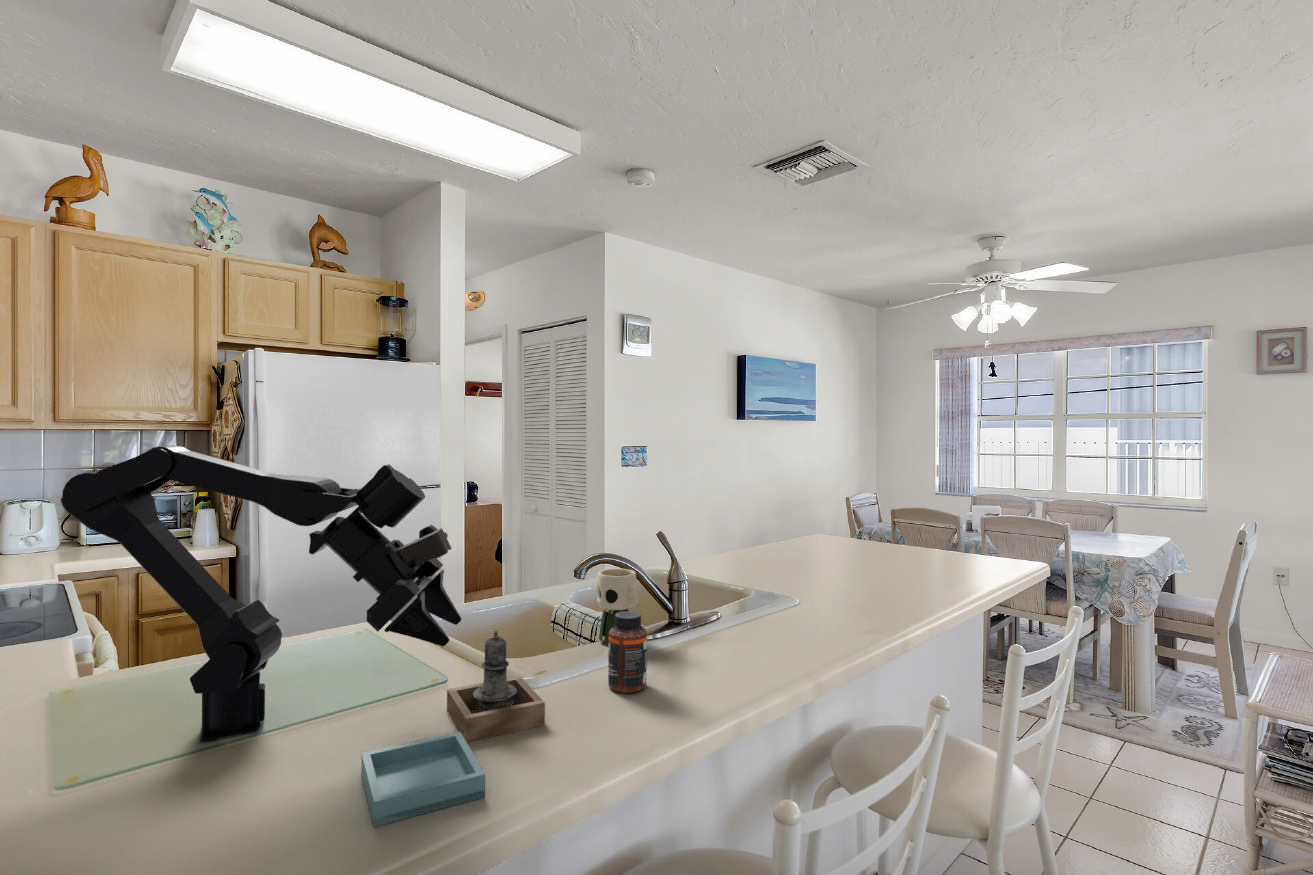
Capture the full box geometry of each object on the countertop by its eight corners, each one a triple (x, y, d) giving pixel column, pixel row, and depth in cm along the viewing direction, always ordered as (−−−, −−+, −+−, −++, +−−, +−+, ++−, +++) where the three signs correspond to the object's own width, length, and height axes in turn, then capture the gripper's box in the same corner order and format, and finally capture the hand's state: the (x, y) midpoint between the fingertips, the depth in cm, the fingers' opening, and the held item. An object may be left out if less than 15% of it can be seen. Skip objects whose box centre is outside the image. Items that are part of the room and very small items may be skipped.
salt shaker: (505, 729, 87) (506, 639, 87) (464, 724, 88) (465, 635, 88) (523, 710, 93) (524, 625, 92) (484, 706, 94) (485, 622, 94)
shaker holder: (465, 742, 83) (465, 718, 83) (446, 710, 92) (447, 689, 92) (544, 724, 88) (544, 702, 88) (519, 696, 98) (519, 676, 97)
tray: (373, 826, 66) (374, 801, 65) (361, 774, 75) (361, 752, 75) (485, 796, 71) (485, 773, 71) (460, 752, 81) (460, 731, 81)
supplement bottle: (654, 687, 102) (655, 614, 102) (627, 698, 98) (628, 622, 97) (627, 676, 106) (628, 606, 106) (599, 686, 102) (601, 613, 101)
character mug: (582, 638, 124) (583, 570, 124) (610, 630, 129) (611, 564, 129) (621, 653, 117) (623, 580, 116) (650, 644, 122) (651, 574, 122)
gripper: (394, 519, 79) (488, 608, 81) (428, 501, 98) (503, 574, 99) (325, 585, 78) (421, 674, 80) (372, 555, 97) (449, 627, 98)
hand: (453, 632), depth 89 cm, fingers open, 9 cm apart
